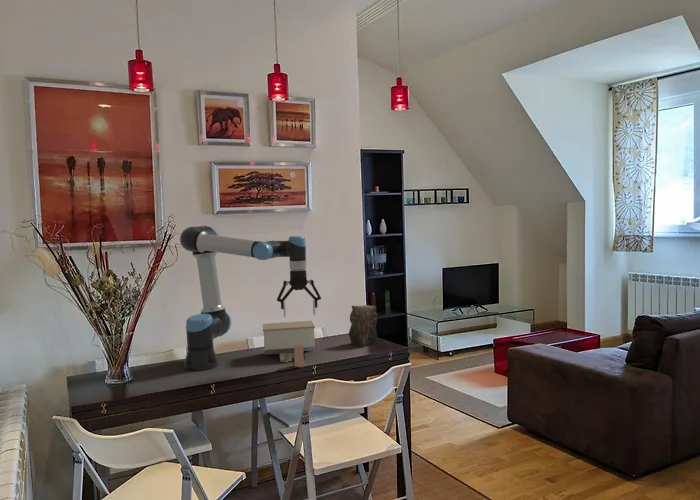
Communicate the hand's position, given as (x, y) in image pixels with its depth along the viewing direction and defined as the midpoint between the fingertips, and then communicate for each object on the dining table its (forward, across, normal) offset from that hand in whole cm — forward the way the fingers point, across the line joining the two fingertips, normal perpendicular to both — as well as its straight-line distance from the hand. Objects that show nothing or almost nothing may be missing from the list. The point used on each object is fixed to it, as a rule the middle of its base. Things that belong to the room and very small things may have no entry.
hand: (299, 315), depth 250 cm
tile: (+22, -7, +5) cm, 24 cm away
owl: (+22, +33, +28) cm, 49 cm away
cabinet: (+22, -5, +16) cm, 28 cm away
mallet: (+22, -4, 0) cm, 22 cm away
